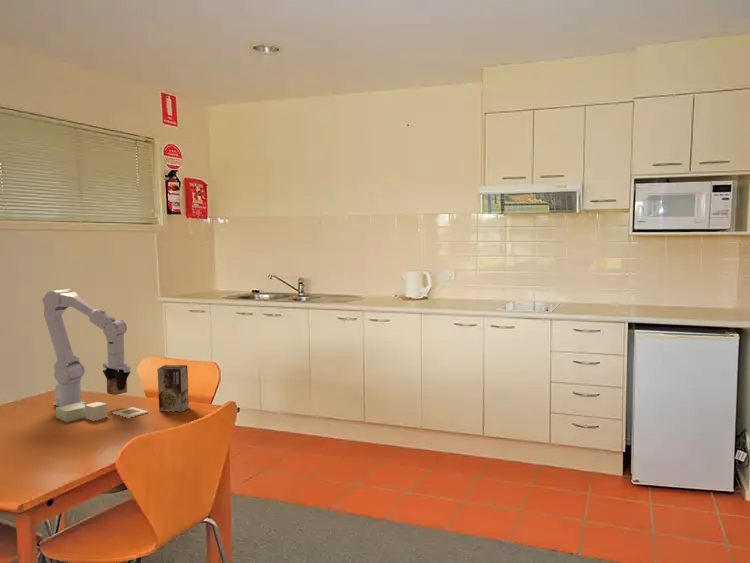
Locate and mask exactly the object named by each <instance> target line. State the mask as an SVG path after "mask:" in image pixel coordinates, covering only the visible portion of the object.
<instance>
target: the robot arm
mask: <svg viewBox="0 0 750 563" xmlns="http://www.w3.org/2000/svg"><path fill="white" fill-rule="evenodd" d="M41 300H42V302H43V303H42V304H43V306H44V308H43V309H44V311H43V312H44V313H43V316H44V320H45V322H46V325H47V328H48V329H47V330H48V332H49V336H50V339H51V342H52V346H53V350H54V352H55V355H56V356H55V357H56V358H57V359H56V361H55V362H54V365H53V368H54V372H53V373H54V375H53V376H54V379H55V381H56V382H57V383H56V385H55V388H54V393H55V394H54V397H55V402H53V403H52V404H53V405H54V406H56V407H60V406H65V405H69V404H74V403H81V404H84V405H87V402H86V401H82V384H81V383H82V382H81V380H82V378H83V376H84V374H85V367H84V365H83V364H82V362H81V360H80V358H79V357H77V356H76V355H74V352H73V349H72V345H71V342H70V340H69V335H68V333H67V330H66V326H65V323H64V319H63V316H62V315H63V314H64V312H65V311H66V310H68V308H69V307H70V308H73V309H75V310H77V311H78V312H80V313H82V314H83V315H85V316H87V317H88V319H89V322H90V323H92V325H95V326H96V327H97V328H99V329H101V330H102V332H103V335H104V336H105V339H106V344H107V346H106V348H107V361H104V362H102V368H103V369H102V373H103V375H104V376H105V378H106V381H107V380H110V379H114V378H116V380H117V387H118V390H124V388H125V384H126V380H127V381H128V378H129V375H130V374H131V366H129V365H128V363H127V362H125V337H124V336H125V334H126V333H127V330H128V327H127V323H126V322H125V321H124V320H122V319H116V318H115V317H114V316H112V315H110V314H109V313H107V312H106V310H105V309H100V308H98V309H95V308H94V307H93V306H91V305H90V304H89V303H88V302H86V301H85V300H83V299H82V298H81V297H80V296H79V295H78V293H77V292H75V291H73V290H72V289H71V288H65V289H59V290H49V291H47V292H46V293H45V295H44V296H43V298H42V299H41Z"/></svg>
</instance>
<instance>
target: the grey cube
mask: <svg viewBox="0 0 750 563" xmlns="http://www.w3.org/2000/svg"><path fill="white" fill-rule="evenodd" d="M84 405H85V415H86V418H85V419H86V420H88V419H89V421H91V422H94V421H95V420H96V421H99V419H100V420H102V418H103V419H106V418H105V417H107V418H108V408H107V407H108V406H107V403H105V402H102V401H101V402H100V401H96V402H91V403H86V404H84ZM96 421H95V422H96Z"/></svg>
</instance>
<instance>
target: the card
mask: <svg viewBox="0 0 750 563" xmlns="http://www.w3.org/2000/svg"><path fill="white" fill-rule="evenodd" d="M112 413H113V414H112ZM145 413H146V414H149V410H145V409H142V408H138V407H133V406H131V407H127V408H123V409H118V410H115V411H111V414H112V415H115V414H116V416H118V415H120V416H119V417H122V416H123V417H122V418H125V417H126V419H131V417H132V418H135V416H136V417H138V415H139V416H143V415H146V414H145ZM142 414H143V415H142Z"/></svg>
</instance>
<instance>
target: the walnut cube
mask: <svg viewBox="0 0 750 563" xmlns="http://www.w3.org/2000/svg"><path fill="white" fill-rule="evenodd" d="M106 393H107V394H109V395H112V396H118V395H121V394H125V393H128V379H127V380H126V384H125V388H124V390H118V387H117V380H116V378H114V379H110V380H107V379H106Z"/></svg>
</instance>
